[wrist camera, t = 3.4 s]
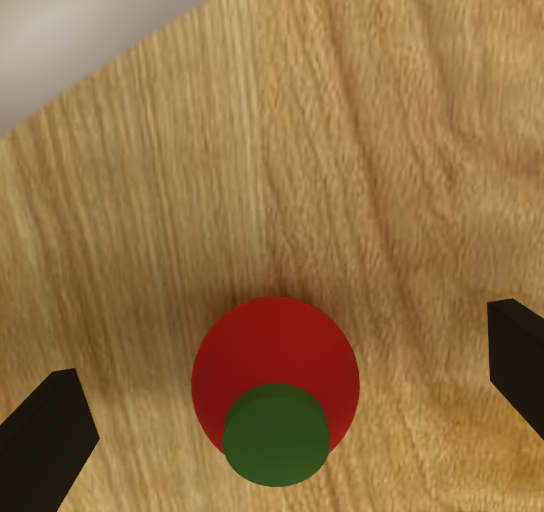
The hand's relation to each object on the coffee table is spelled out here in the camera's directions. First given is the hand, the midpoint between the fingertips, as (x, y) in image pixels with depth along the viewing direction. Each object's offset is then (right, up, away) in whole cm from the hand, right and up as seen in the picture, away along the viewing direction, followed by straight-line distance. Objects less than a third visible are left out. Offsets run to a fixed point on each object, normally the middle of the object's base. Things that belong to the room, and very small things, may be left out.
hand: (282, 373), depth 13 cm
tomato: (0, +1, +2) cm, 2 cm away
